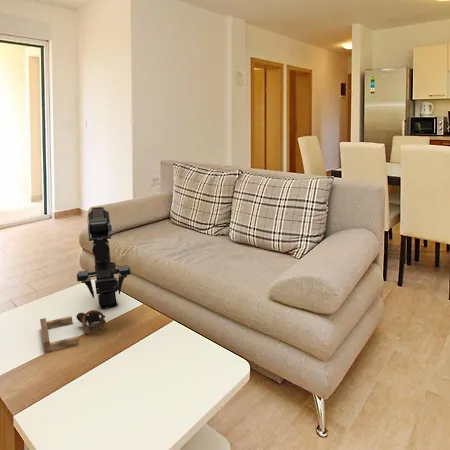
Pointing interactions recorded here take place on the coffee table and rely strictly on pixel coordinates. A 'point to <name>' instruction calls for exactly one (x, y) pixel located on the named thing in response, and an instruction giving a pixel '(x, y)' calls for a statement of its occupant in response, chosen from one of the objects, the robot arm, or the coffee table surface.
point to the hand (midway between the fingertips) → (106, 295)
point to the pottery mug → (91, 320)
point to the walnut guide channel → (57, 344)
